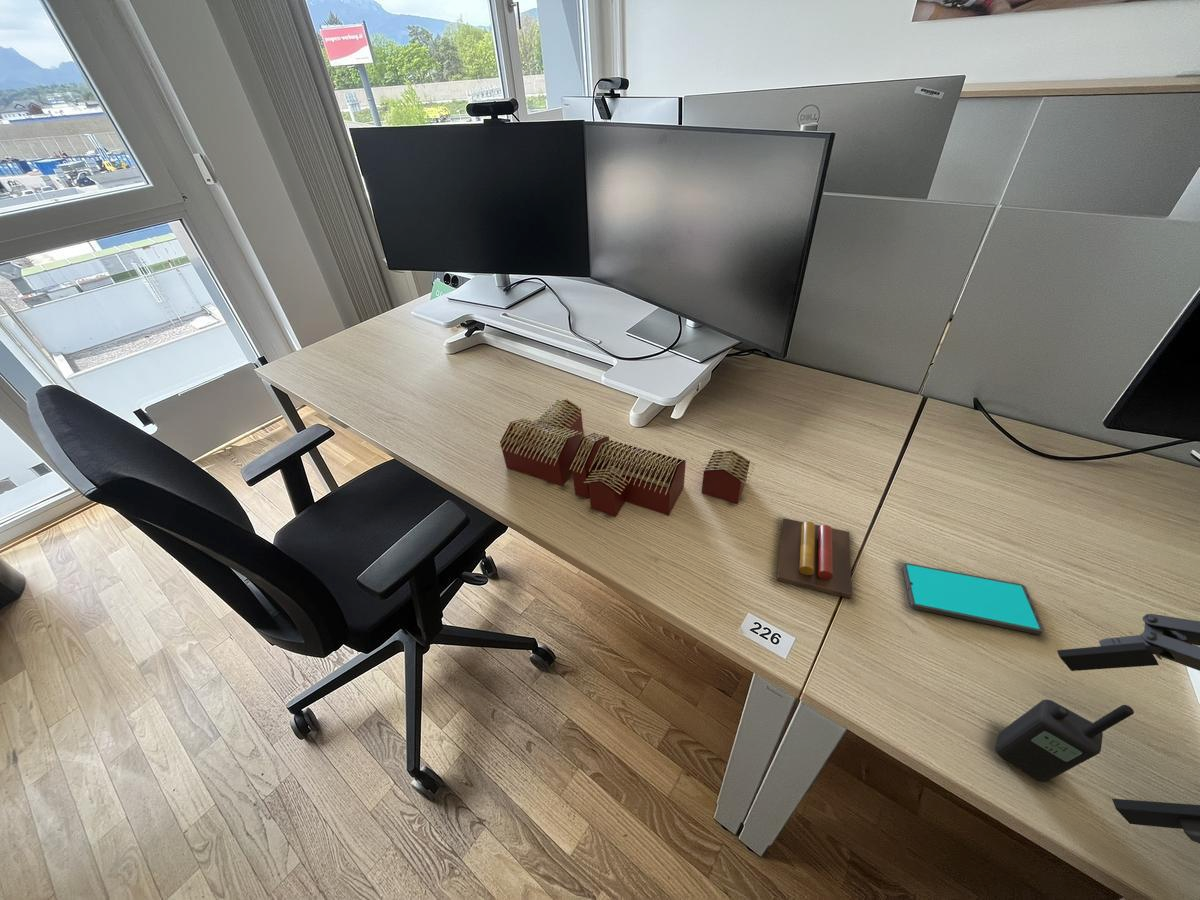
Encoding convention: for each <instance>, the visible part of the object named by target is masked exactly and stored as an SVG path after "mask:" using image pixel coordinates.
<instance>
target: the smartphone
mask: <svg viewBox="0 0 1200 900" xmlns="http://www.w3.org/2000/svg"><path fill="white" fill-rule="evenodd" d="M902 571H903V575H904V576H903V577H904V581H905V585H906V590H907V595H908V599H909V605H910V607H911V608H912V609H914V610H919V611H923V612H928V613H933V614H939V615H943V616H948V617H953V618H958V619H961V620H966V621H967V620H968V621H972V622H976V623H981V624H985V625H992V626H996V627H1001V628H1005V629H1009V630H1010V629H1011V630H1015V631H1020V632H1025V633H1030V634H1035V635H1042V634H1043V633H1044V632H1045V628H1044V626H1043V623H1042V621H1041V619H1040V617H1039V614H1038V612H1037V610H1036V607H1035V605H1034V603H1033V600H1032V598H1031V597H1030V593H1029V591H1028V589H1027V586H1025V585H1024V584H1023V583H1022V584H1021V583H1016V582H1011V581H1005V580H1000V579H994V578H989V577H984V576H978V575H973V574H967V573H962V572H956V571H952V570H946V569H940V568H935V567H929V566H924V565H919V564H914V563H908V562H905V563H904V564H903V566H902Z"/></svg>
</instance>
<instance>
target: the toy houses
mask: <svg viewBox="0 0 1200 900" xmlns="http://www.w3.org/2000/svg"><path fill="white" fill-rule="evenodd" d="M582 412H585V410H584V409H582V407H581V406H580V407H579V405H577V404H576V403H574V402H572V401H570V400H569V399H568V398H563V399H557V400H555V401H551V402H550V404H549V405H548V406H545V408H544V409H543V411H541V412H540V413H539V414H538V416H536V417H535V418H530V417H526V418H520V419H516V420H513V421H510V423H509V424H508V426H507V428H506V430H505V432H504V433H503V436H502V438H501V439H500V441H499V446H498V449H501V451H502V452H501V453H502V455H503V459H504V464H505V467H506V469H508V470H512V471H515V472H517V473H521V474H524V475H527V476H530V477H533V478H536V479H538V480H542V481H545V482H548V483H552V484H554V485H557V486H560V487H564V486H565V484H566V483H567V482H568V481H569V479H570V478H571V477H572V481H573V487H574V495H575V496H578V497H581V498H584V499H588V500H589V502H590V509H591V510H594V511H597V512H600V513H603V514H606V515H609V516H612V517H615V518H616V517H617V515H618V514H619V512H620V511H621V509H622V508H623V506H624V504H625V503H629V504H632V505H635V506H637V507H641V508H644V509H647V510H650V511H653V512H656V513H659V514H662V515H665V516H668V517H669V516H670V514H671V513H672V511H673V509H674V508H675V505H676V503H677V501H678V499H679V497H680V496H681V494H682V492H683V490H684V487H685V479H686V477H685V476H686V466H687V465H686V464H687V459H686V457H684V458H683V459H682V458H681V456H679V457H676V456H677V455H676V454H674V455H673V456H671V453H669V454H666V453H667V452H666V451H665V452H664V453H661V452H662V450H659V451H658V452H656V451H657V449H654V450H652V448H649V449H647V446H645V447H644V448H642V445H640V446H638V444H635V445H633V443H630V444H628V443H629V442H628V441H627V442H624V440H622V441H619V440H620V439H616V440H615V438H614V437H613V438H611V439H610V436H611V434H608V433H604V432H601V431H597V432H593V433H591V434H589V435H588V434H587V435H586V436H584V437H582V435H583V433H584V423H583V413H582ZM614 440H615V441H614ZM623 442H624V443H623ZM548 453H549V454H548ZM706 453H707V454H706V455H705V457H704V460H702V463H701V464H700V465H701V466H700V467H699V469H698V470H697V472H703V474H702V482H701V485H702V486H701V492H700V493H701V494H702V495H706V496H709V497H713V498H716V499H720V500H723V501H726V502H730V503H734V504H736V505H738V504H739V501H740V498H741V496H742V493H743V491H744V488H745V485H746V486H748V485H749V484H748V483H749V482H750V480H749V479H751V476H753V472H754V470H755V467H754V466H756V464H755V463H753V462H752V461H751V460H750V459H747V458H746V457H745V456H743V455H742V454H740V453H738V452H737V451H735V450H734V449H725V450H721V449H716V450H715V449H714V450H713V451H707V452H706ZM547 454H548V455H547ZM552 454H553V456H552ZM551 456H552V457H551ZM556 456H557V458H555V457H556ZM750 464H751V465H750ZM752 465H753V466H752ZM751 468H752V469H753V470H752V469H751ZM613 470H614V471H613ZM620 470H621V471H620ZM749 471H750V472H749ZM624 472H626V473H625V474H624ZM751 472H752V473H751ZM618 473H620V474H618ZM629 473H631V475H629ZM748 474H749V475H750V476H749V475H748ZM635 475H636V476H635ZM639 476H642V477H641V478H638V477H639ZM644 478H647V479H646V480H644ZM649 479H652V481H649ZM655 480H656V481H657V483H654V482H655ZM660 482H663V483H662V485H661V484H659V483H660ZM747 482H748V483H747ZM665 484H668V486H665Z"/></svg>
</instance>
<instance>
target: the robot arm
mask: <svg viewBox="0 0 1200 900" xmlns="http://www.w3.org/2000/svg"><path fill="white" fill-rule="evenodd" d="M1142 621H1143V622H1144V630H1143V632H1142V633H1140V634H1137V635H1129V636H1128V635H1127V636H1118V637H1107V638H1103V639H1100V640H1098V643H1099V645H1097V646H1087V647H1076V648H1066V649H1057V650H1056V651H1057V654H1058V657H1059V659H1061V661H1062V662H1063V663H1064V665H1066V666H1067V668H1068V669H1069V671H1071V672H1078V671H1079V672H1080V671H1093V670H1108V669H1109V670H1110V669H1122V668H1123V669H1124V668H1137V667H1139V668H1140V667H1152V666H1153V667H1154V666H1160V663H1159V661H1158V660H1161V661H1162V660H1163V659H1162V658H1164V659H1167V660H1169V661H1172V662H1174V663H1177V664H1180V665H1182V666H1186V667H1188V668H1191V669H1193V670H1196V671H1199V672H1200V621H1199V620H1193V619H1187V618H1181V617H1175V616H1169V615H1161V614H1155V613H1147V614H1145V615H1143V617H1142ZM1157 658H1158V660H1157ZM1111 800H1112V802H1113V806H1114V808H1115V810H1116V811H1117V812H1118V813H1119V814H1120V815H1121V816H1122V817H1123V818H1124V819H1125V820H1126V822H1127V823H1128V824H1129V825H1136V826H1145V827H1147V826H1148V827H1155V828H1156V827H1157V828H1168V829H1178V830H1183V833H1184V834H1185V835H1186V836H1187V838H1188V839H1189V840H1190V841H1191V842H1194V843H1196V844H1199V845H1200V804H1193V803H1191V804H1190V803H1179V802H1178V803H1177V802H1163V801H1153V800H1151V801H1150V800H1138V799H1137V800H1136V799H1125V798H1123V799H1122V798H1111Z"/></svg>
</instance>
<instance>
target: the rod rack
mask: <svg viewBox="0 0 1200 900" xmlns="http://www.w3.org/2000/svg"><path fill="white" fill-rule="evenodd" d="M851 562H852V561H851V541H850V531H848V530H847V531H846V530H843V529H838V528H833V527H832V526H830V525H828V524H821V525H818V524H815V523H814V522H813V521H804V522H803V521H799V520H794V519H789V518H784V517H782V520H781V528H780V539H779V552H778V561H777V571H776V581H778V582H780V583H781V582H782V583H786V584H789V585H793V586H797V587H798V586H799V587H802V588H806V589H808V590H809V589H810V590H813V591H817V592H821V593H825V594H829V595H833V596H837V597H842V598H846V599H850V600H851V598H852V596H853V589H852V586H853V585H852V567H851V566H852V564H851Z"/></svg>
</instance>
